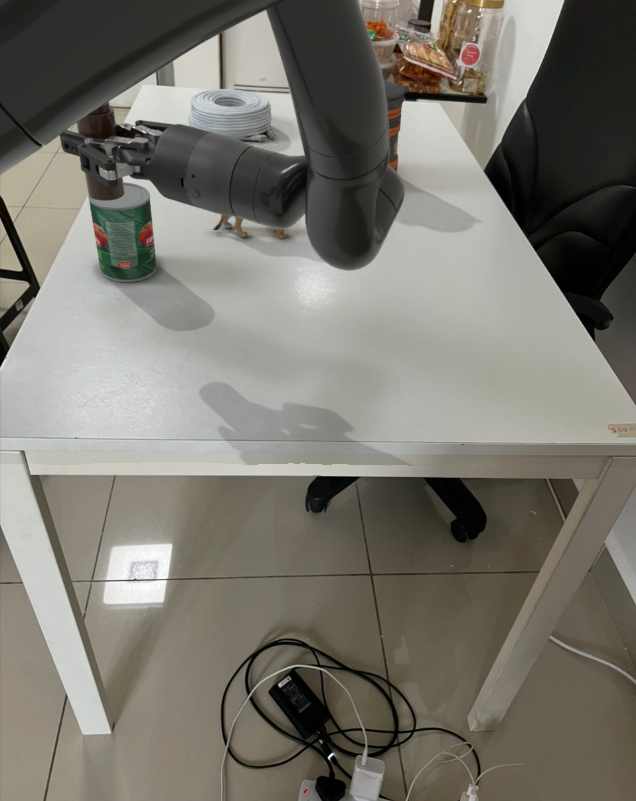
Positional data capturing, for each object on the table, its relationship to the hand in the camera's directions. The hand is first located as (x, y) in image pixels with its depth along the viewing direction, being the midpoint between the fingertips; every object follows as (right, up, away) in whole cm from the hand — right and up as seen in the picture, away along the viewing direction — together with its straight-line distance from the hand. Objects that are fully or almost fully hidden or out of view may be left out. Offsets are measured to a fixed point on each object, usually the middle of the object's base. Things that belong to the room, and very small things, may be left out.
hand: (78, 134), depth 70 cm
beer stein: (+32, +14, +53) cm, 63 cm away
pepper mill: (+2, -5, +3) cm, 7 cm away
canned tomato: (-1, -10, +22) cm, 24 cm away
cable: (+7, +29, +67) cm, 74 cm away
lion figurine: (+17, -2, +33) cm, 38 cm away
